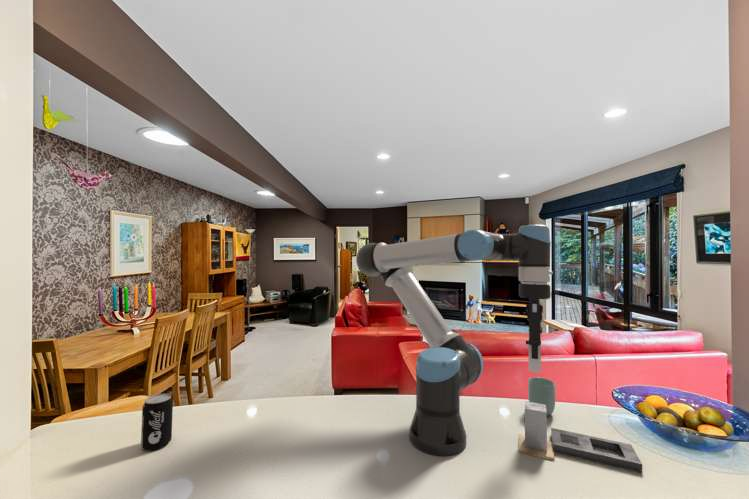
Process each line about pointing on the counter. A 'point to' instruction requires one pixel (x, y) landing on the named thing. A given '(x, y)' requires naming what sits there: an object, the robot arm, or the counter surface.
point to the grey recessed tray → (583, 449)
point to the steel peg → (535, 426)
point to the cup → (542, 392)
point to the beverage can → (156, 422)
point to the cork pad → (547, 455)
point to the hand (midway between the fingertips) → (534, 363)
